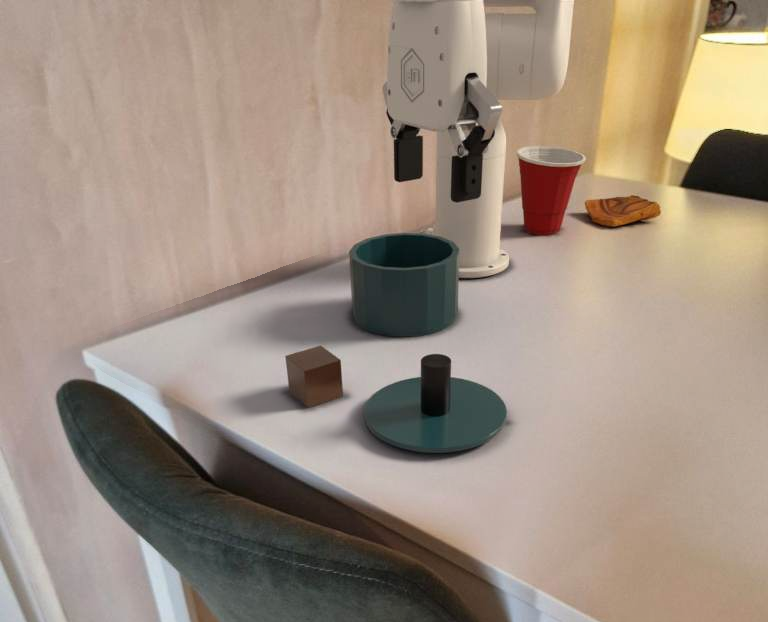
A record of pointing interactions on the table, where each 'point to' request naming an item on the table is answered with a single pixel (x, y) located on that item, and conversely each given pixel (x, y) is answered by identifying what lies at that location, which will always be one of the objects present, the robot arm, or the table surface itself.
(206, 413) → the table surface
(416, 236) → the pot
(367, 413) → the lid
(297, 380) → the block
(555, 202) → the plastic cup
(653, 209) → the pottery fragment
